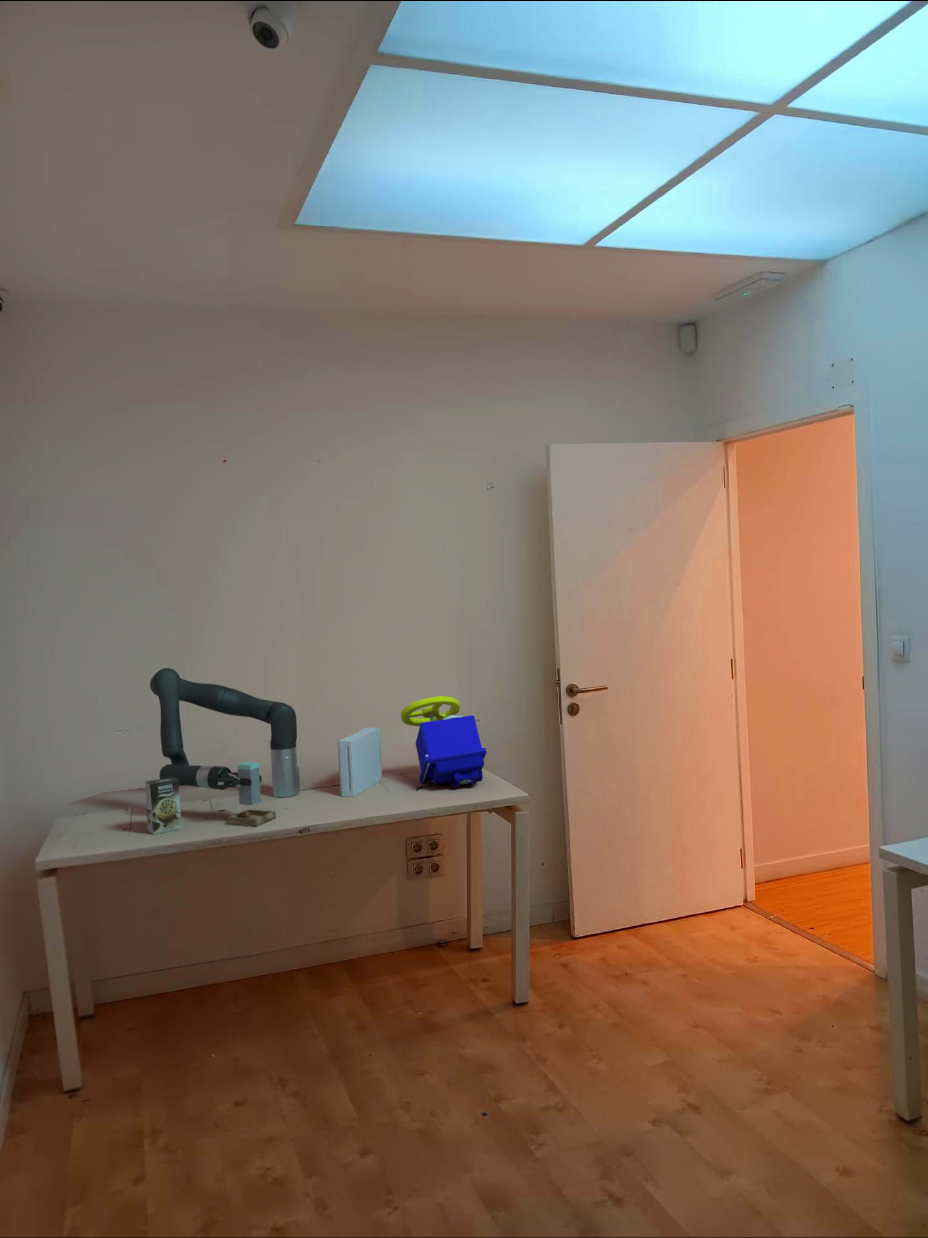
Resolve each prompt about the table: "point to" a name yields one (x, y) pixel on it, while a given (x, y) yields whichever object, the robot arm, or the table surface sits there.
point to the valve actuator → (446, 742)
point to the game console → (359, 761)
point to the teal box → (251, 793)
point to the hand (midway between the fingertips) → (255, 780)
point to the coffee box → (163, 805)
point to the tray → (251, 818)
